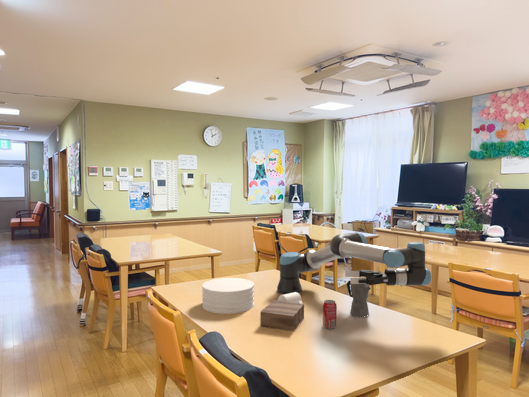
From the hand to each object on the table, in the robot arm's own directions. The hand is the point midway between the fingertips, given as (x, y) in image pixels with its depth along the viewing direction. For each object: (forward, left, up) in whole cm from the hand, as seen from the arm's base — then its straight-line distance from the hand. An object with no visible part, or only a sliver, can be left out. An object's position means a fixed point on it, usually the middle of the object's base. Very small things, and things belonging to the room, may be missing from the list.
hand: (347, 277), depth 176 cm
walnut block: (+5, -30, -23) cm, 38 cm away
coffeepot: (-20, +2, -24) cm, 31 cm away
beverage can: (+3, -8, -24) cm, 25 cm away
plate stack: (-10, -65, -24) cm, 70 cm away
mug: (-14, -31, -24) cm, 41 cm away
